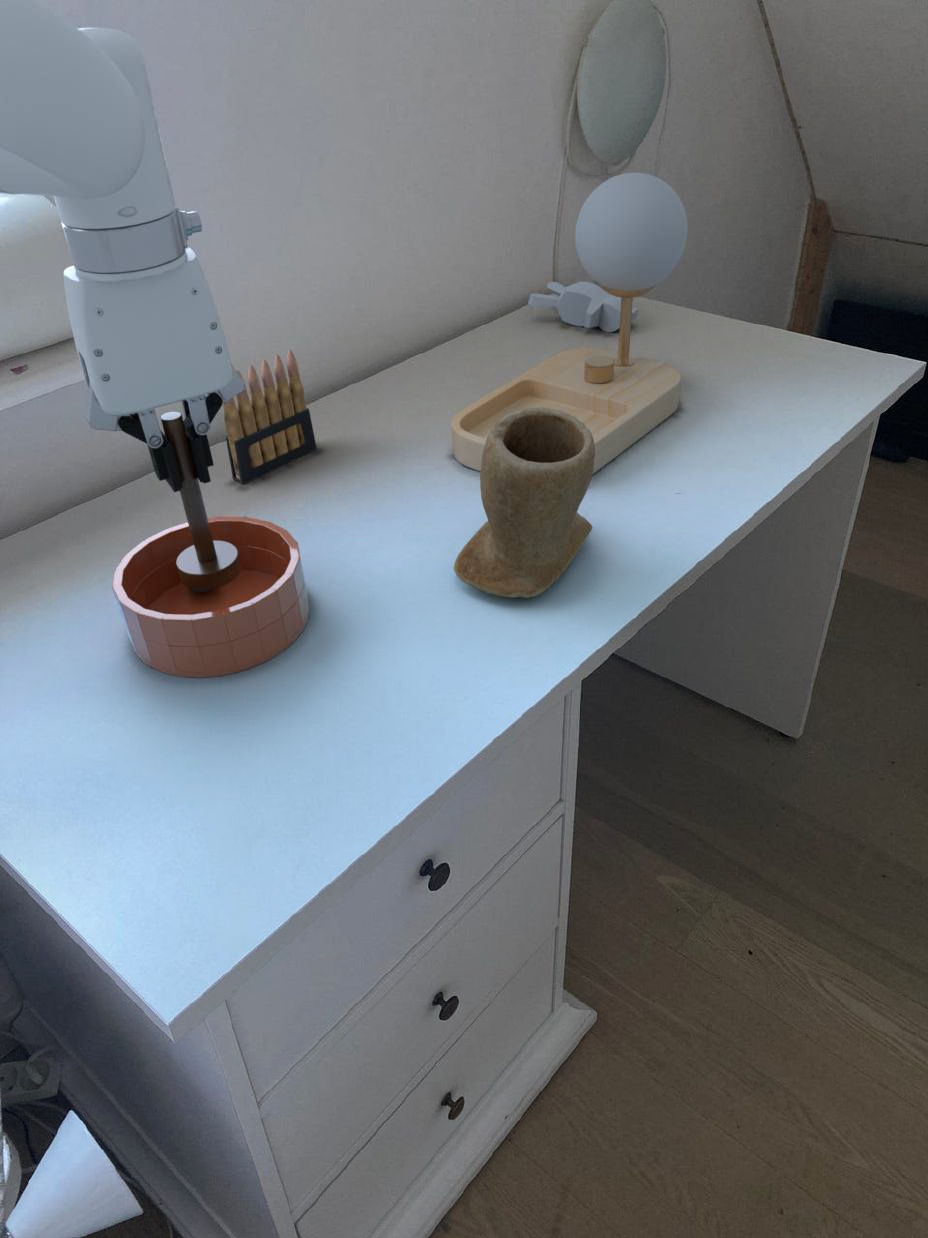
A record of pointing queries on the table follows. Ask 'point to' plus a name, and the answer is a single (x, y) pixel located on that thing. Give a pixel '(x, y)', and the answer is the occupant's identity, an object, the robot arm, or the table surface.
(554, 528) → the stone cup
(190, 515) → the brown disc-based tamper
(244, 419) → the ammunition clip
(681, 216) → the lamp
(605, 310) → the bunny figurine
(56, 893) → the table surface
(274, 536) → the bowl
